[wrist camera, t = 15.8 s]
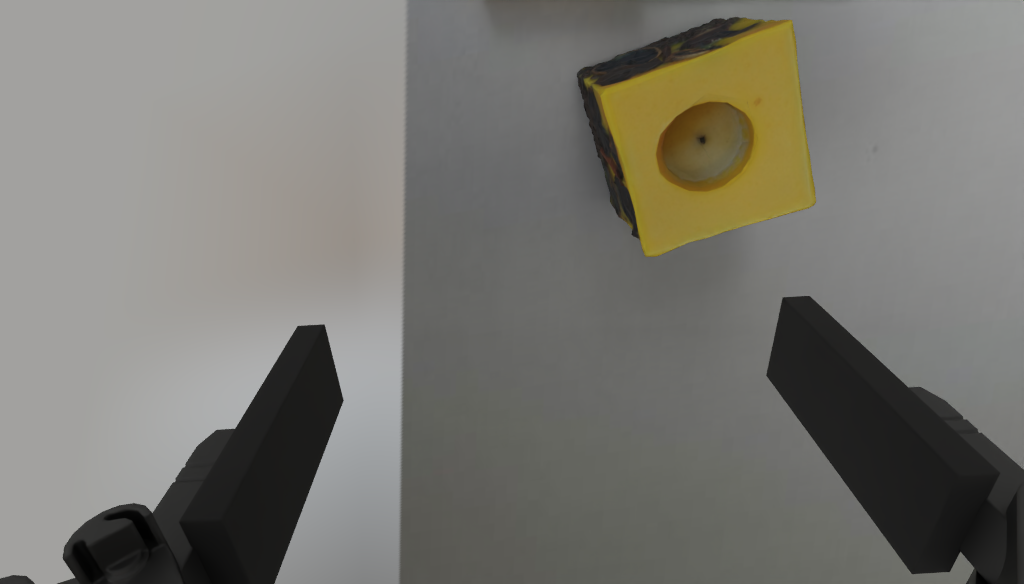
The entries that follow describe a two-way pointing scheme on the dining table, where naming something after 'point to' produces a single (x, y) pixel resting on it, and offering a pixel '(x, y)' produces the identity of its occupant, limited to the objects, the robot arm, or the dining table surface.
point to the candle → (702, 131)
